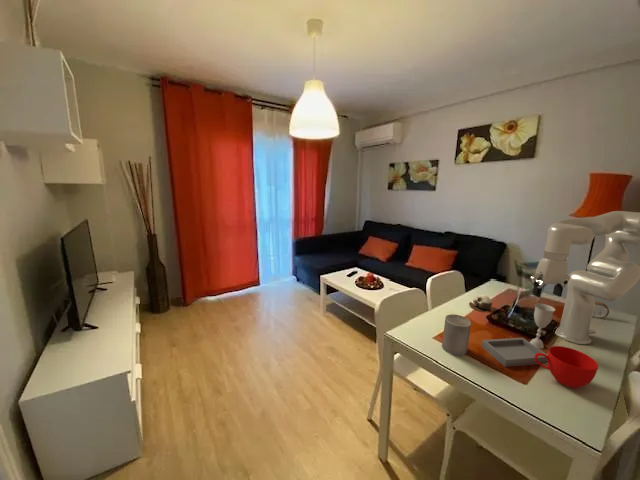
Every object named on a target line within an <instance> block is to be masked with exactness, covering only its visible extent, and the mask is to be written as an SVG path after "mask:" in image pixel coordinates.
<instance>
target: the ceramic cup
mask: <svg viewBox="0 0 640 480" xmlns="http://www.w3.org/2000/svg"><path fill="white" fill-rule="evenodd" d="M547 355H548V356H547ZM547 355H545V354H543V353H537V354H535V357H534V358H535V361H536V362H537V363H538V364H537V365H539V366H541V367H542V368H544V369H545V370H548V371H549V372H550V373H551V375H552V376H553V377H554V379H555V380H556V382H558V383H559V384H561V385H563V386H565V387H568V388H571V389H579V388H582V387H585V386H587V385H588V384H590V383H591V382H592V381H593V380H594V378H595V377H596V375H597V372H598V369H599V365H598V362H597V361H596V360H595V359H594V358H592V357H591V356H589V355H588V354H586V353H584V352H582V351H579V350H577V349H575V348H572V347H566V346H563V345H562V346H561V345H553V346H551V347H549V348H548V352H547ZM538 356H544V357H546V358H547V360H548V363H547V365H545V364H541V363H540V362H539V361H538V360H537V357H538Z"/></svg>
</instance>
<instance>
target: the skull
mask: <svg viewBox="0 0 640 480" xmlns="http://www.w3.org/2000/svg"><path fill="white" fill-rule="evenodd" d="M468 305H469V307H470V308H472V309H474V310H475V311H479V312H482V313H486V312H488V311H490V312H491V311H494V308H493V307H492V306H493V302H492V300H491V298H490V297H489V296H487V295H486V294H480V295H477V296H476V297H475V298H473V300H471V301H469V303H468Z"/></svg>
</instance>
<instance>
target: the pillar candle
mask: <svg viewBox="0 0 640 480" xmlns="http://www.w3.org/2000/svg"><path fill="white" fill-rule="evenodd" d="M471 326H472V322H471V320H470V319H469V318H468V317H465V316H463V315H460V314H446V315H445V319H444V326H443V334H442V342H441V347H442V349H443V351H445V353H448V354H450V355H452V356H459V357H460V356H466V355H467V353H468V348H469V341H470V333H471Z"/></svg>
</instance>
